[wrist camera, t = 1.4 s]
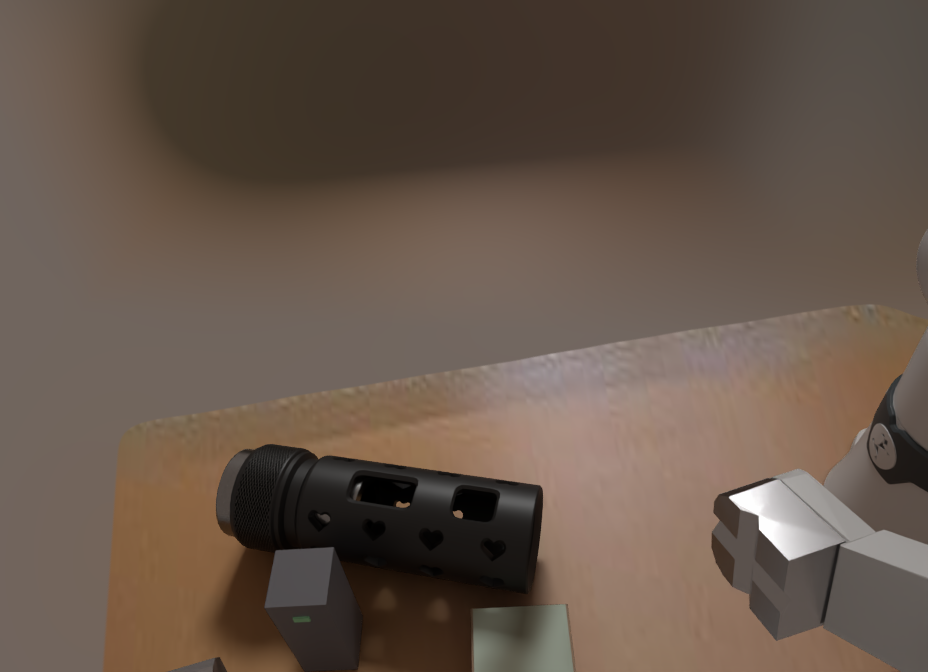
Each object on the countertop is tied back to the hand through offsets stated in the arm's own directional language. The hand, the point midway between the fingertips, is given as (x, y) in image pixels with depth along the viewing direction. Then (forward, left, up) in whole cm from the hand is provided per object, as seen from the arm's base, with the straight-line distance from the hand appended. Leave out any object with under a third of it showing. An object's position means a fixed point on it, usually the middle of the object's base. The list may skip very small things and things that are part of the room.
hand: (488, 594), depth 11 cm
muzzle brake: (+11, -29, -49) cm, 58 cm away
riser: (-1, -17, -49) cm, 51 cm away
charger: (+15, -20, -49) cm, 55 cm away
